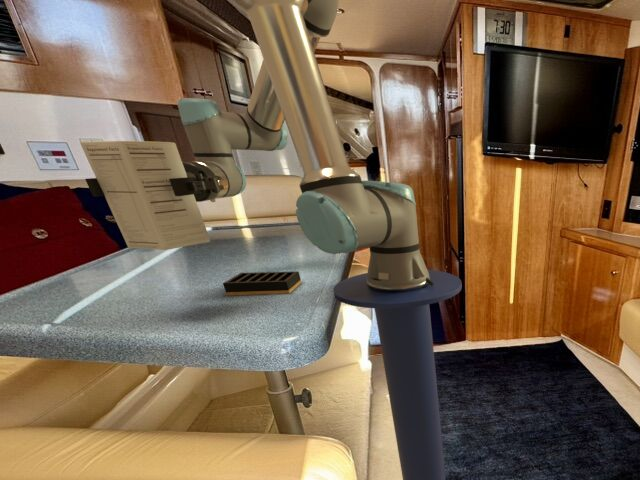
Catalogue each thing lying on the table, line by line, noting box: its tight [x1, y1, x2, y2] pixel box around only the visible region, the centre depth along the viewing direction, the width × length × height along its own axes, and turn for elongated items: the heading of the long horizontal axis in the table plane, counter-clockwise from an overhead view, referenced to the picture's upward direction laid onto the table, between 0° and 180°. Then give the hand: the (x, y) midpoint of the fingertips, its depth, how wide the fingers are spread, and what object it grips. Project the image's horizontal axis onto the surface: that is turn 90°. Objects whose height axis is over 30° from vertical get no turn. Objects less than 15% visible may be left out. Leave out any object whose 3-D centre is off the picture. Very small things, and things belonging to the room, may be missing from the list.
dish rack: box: [222, 271, 302, 296], centre depth 98 cm, size 14×10×3 cm
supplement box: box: [79, 140, 211, 251], centre depth 71 cm, size 10×9×17 cm
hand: (133, 187), depth 67 cm, fingers closed on supplement box, 12 cm apart
